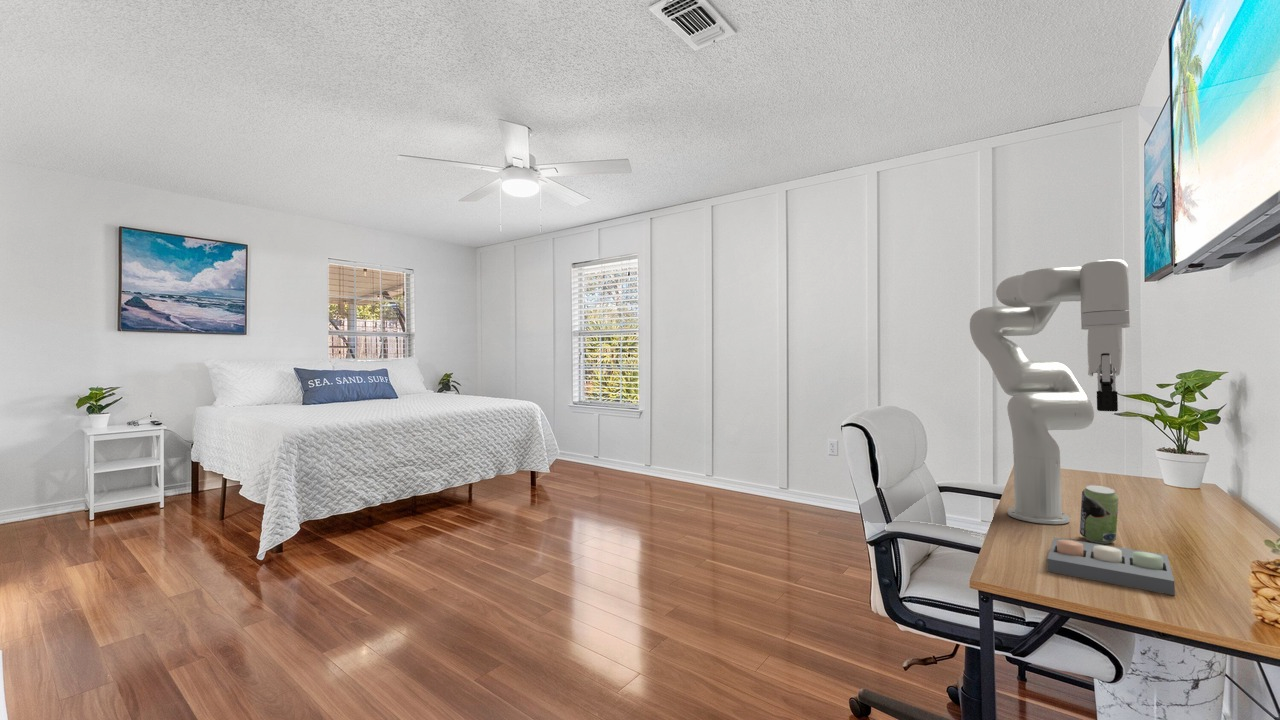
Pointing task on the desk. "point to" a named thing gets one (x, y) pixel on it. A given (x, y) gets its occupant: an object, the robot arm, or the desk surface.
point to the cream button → (1107, 554)
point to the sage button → (1147, 560)
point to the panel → (1112, 569)
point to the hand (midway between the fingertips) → (1107, 410)
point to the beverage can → (1099, 514)
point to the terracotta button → (1070, 547)
